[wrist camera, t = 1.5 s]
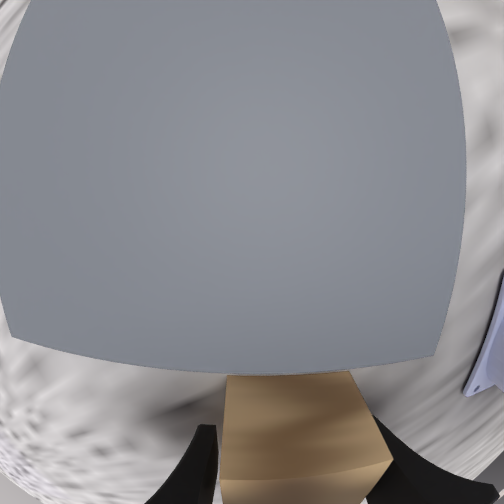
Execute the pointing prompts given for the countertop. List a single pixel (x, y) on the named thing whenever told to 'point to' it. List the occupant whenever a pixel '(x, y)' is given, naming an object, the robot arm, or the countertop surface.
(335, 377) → the tan cube
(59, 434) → the countertop surface
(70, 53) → the base block
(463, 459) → the countertop surface
